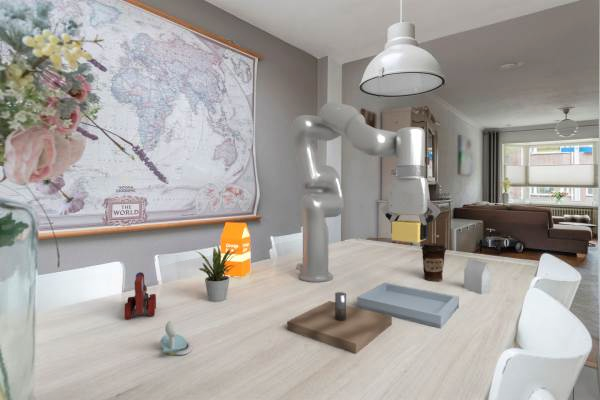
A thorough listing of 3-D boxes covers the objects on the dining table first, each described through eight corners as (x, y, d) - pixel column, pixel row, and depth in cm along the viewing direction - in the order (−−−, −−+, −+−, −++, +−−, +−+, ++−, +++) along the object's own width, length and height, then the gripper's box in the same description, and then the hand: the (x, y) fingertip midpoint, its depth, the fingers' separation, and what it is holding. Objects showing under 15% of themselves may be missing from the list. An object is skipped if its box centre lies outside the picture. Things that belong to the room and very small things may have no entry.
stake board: (287, 329, 77) (287, 321, 77) (329, 307, 91) (329, 300, 91) (355, 353, 66) (356, 343, 65) (391, 324, 80) (391, 316, 80)
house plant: (254, 299, 98) (254, 244, 97) (214, 311, 88) (214, 251, 87) (227, 289, 108) (226, 239, 107) (187, 299, 97) (187, 244, 97)
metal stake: (332, 319, 78) (333, 294, 78) (338, 315, 80) (338, 291, 80) (342, 321, 76) (342, 296, 76) (348, 318, 78) (348, 293, 78)
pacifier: (188, 340, 72) (159, 346, 69) (189, 312, 72) (159, 316, 69) (195, 355, 65) (163, 362, 62) (196, 324, 65) (164, 329, 62)
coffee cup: (448, 283, 115) (449, 246, 114) (423, 282, 116) (423, 245, 116) (442, 276, 123) (443, 242, 123) (419, 275, 125) (419, 241, 125)
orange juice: (241, 277, 122) (241, 224, 121) (220, 276, 124) (220, 223, 123) (250, 272, 129) (250, 222, 129) (230, 271, 132) (230, 221, 131)
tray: (357, 307, 91) (357, 297, 91) (384, 291, 105) (384, 282, 105) (440, 328, 77) (440, 315, 77) (458, 307, 92) (458, 296, 92)
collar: (391, 240, 90) (392, 221, 90) (401, 237, 96) (401, 220, 95) (417, 242, 86) (417, 223, 86) (425, 239, 91) (426, 221, 91)
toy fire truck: (156, 304, 94) (156, 268, 94) (154, 320, 82) (153, 279, 82) (129, 307, 91) (128, 270, 91) (123, 324, 80) (122, 281, 79)
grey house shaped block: (481, 294, 103) (482, 262, 103) (463, 288, 109) (464, 258, 109) (490, 293, 104) (490, 261, 104) (472, 287, 111) (472, 257, 110)
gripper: (374, 173, 93) (373, 236, 93) (439, 171, 82) (438, 243, 82) (385, 174, 98) (384, 234, 99) (447, 173, 88) (446, 239, 88)
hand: (409, 237), depth 91 cm, fingers closed on collar, 7 cm apart
